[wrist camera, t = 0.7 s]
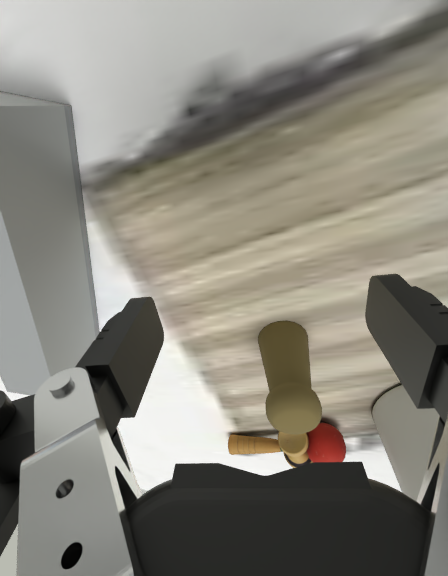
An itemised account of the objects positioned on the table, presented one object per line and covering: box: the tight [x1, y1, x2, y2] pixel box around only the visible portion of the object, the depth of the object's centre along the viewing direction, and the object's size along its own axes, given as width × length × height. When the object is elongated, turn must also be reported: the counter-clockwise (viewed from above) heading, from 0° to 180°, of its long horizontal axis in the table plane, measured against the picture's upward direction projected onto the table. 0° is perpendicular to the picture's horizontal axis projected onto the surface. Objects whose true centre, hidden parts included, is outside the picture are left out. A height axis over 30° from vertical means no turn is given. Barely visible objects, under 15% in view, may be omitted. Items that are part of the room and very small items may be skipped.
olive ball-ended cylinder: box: [258, 321, 322, 434], centre depth 29 cm, size 6×6×11 cm
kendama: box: [228, 423, 346, 468], centre depth 43 cm, size 8×6×18 cm
